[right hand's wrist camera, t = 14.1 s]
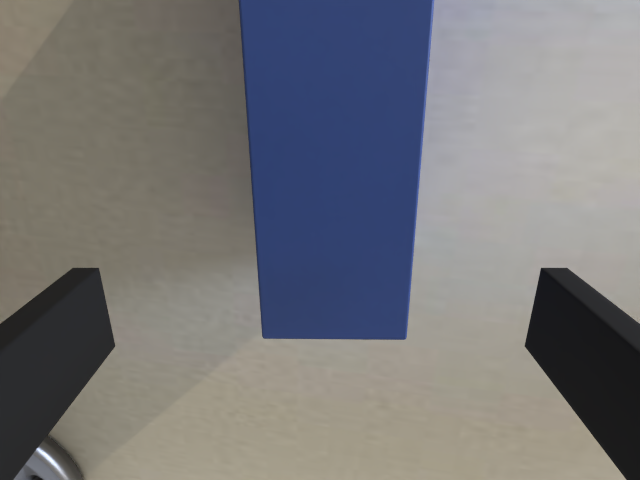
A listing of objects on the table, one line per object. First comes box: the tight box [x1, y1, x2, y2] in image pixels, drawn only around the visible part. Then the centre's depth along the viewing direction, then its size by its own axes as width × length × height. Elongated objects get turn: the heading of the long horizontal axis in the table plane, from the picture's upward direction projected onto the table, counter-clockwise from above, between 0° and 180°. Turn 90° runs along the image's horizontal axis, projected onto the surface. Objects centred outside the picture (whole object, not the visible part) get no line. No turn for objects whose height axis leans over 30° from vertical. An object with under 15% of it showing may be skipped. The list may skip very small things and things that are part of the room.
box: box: [239, 0, 434, 340], centre depth 18 cm, size 24×6×11 cm, turn 0°
